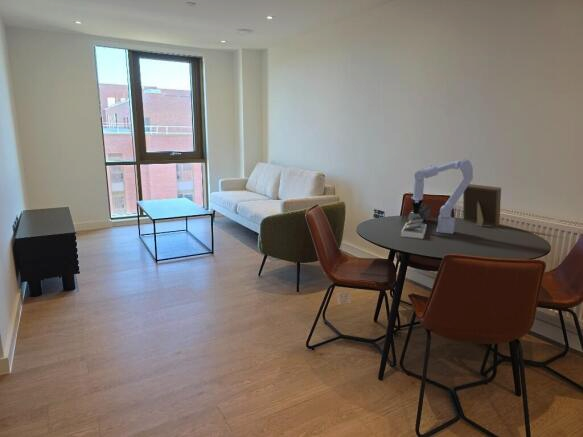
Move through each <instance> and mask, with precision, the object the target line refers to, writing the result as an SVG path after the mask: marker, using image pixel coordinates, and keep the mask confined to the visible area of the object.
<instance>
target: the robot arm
mask: <svg viewBox="0 0 583 437" xmlns="http://www.w3.org/2000/svg"><path fill="white" fill-rule="evenodd" d="M452 169H454V170H460V172H461V173H462V179H461V180H460V182H459V184H458V185H457V186H456V188H455V189H454V191H453V192H452V194H451V196H449V198H448V200H447V201H446V202H445V204H443V205H441V207H440V208H439V215H438V218H437V228H436V231H435V232H436V233H442V234H451V235H453V234H454V232H455V227H456V226H455V222H456V217H452V210H454V207H455V206H456V204H457V203H458V201H459V199H460V198H461V196H462V195H463V192H464V191H465V189H466V188H467V186H468V185H469V184H471V182H472V181H473V179H474V176H473V172H474V170H473V169H474V168H473V166H472V163H471V161H470V160H469V159H465V158H464V159H461V160H455V161H451V162H448V163H445V164H443V165H439V166H435V165H430V166H429V167H426V168H421V170H420V169H419V170H417V171H416V172H414V175H413V176H414V181H413V191H412V192H413V193H412V196H411V197H410V199H411V200H413V201H412V202H411V204H412V207H413V210H414V214H418V212H419V209H421V208H420V206H421V205H423V201H424V188H425V182H424V181H425V179H429V178H432V177H435V176H438V175H439V173H441V172H445V171H448V170H452Z"/></svg>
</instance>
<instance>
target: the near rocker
mask: <svg viewBox="0 0 583 437" xmlns="http://www.w3.org/2000/svg"><path fill="white" fill-rule="evenodd" d="M420 227H421V222H420V223H415V224H410V225H407V226H406V228H405V230H412V229H417V228H420Z"/></svg>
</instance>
